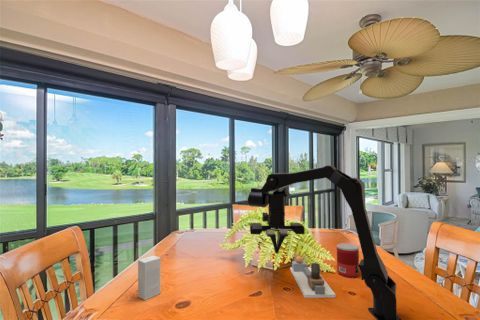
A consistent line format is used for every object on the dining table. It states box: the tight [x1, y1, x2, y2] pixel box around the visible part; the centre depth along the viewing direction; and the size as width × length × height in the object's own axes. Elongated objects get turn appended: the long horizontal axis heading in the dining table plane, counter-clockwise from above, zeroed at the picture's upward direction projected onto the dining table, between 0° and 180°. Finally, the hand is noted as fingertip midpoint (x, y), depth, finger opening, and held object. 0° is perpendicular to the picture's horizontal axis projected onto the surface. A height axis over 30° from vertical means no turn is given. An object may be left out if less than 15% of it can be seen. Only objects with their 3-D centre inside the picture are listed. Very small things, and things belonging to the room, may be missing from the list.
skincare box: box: [137, 255, 162, 301], centre depth 87 cm, size 6×4×12 cm
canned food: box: [336, 243, 360, 279], centre depth 104 cm, size 8×8×11 cm
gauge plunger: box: [295, 255, 303, 263], centre depth 105 cm, size 2×2×2 cm
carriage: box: [307, 262, 325, 290], centre depth 90 cm, size 5×4×8 cm
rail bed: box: [289, 260, 337, 299], centre depth 96 cm, size 23×10×4 cm, turn 1°
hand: (276, 252), depth 93 cm, fingers closed
